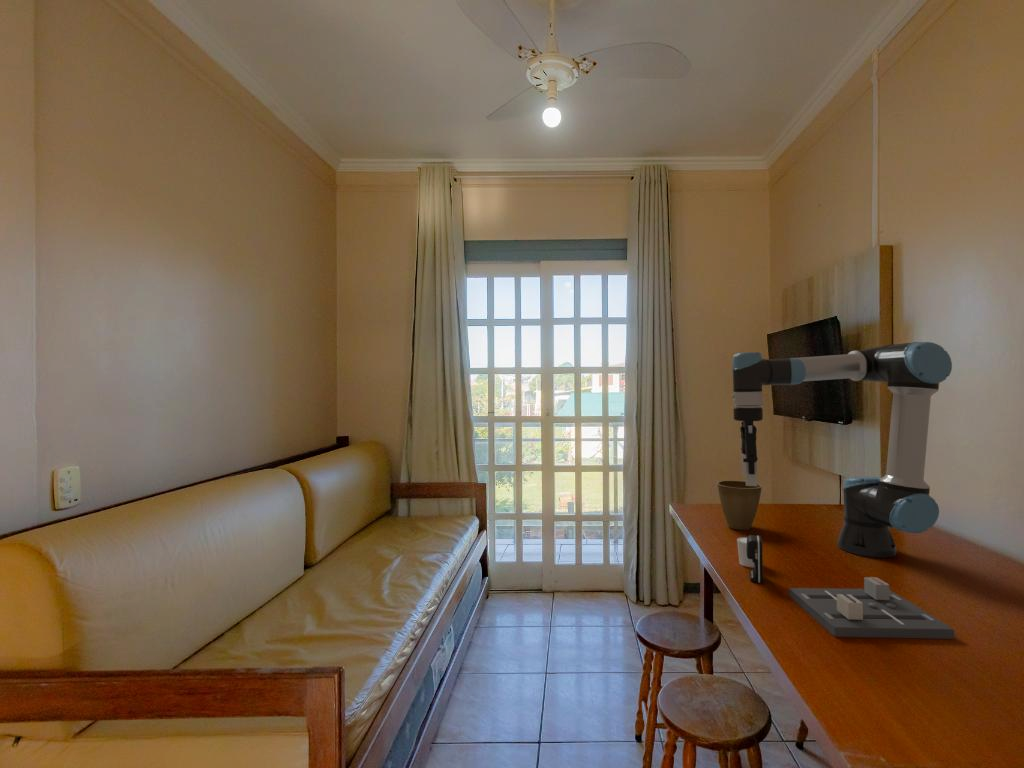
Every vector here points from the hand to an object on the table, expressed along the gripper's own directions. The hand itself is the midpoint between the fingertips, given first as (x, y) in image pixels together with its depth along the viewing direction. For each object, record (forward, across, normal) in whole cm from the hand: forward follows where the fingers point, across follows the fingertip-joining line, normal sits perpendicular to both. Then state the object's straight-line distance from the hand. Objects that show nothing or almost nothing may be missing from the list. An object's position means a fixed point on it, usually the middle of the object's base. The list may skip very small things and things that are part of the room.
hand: (749, 480), depth 143 cm
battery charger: (+26, +6, 0) cm, 27 cm away
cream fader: (+23, +28, +18) cm, 40 cm away
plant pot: (+26, -44, 0) cm, 51 cm away
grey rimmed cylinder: (+26, -5, 0) cm, 26 cm away
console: (+26, +21, +22) cm, 40 cm away
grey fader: (+23, +15, +26) cm, 38 cm away
